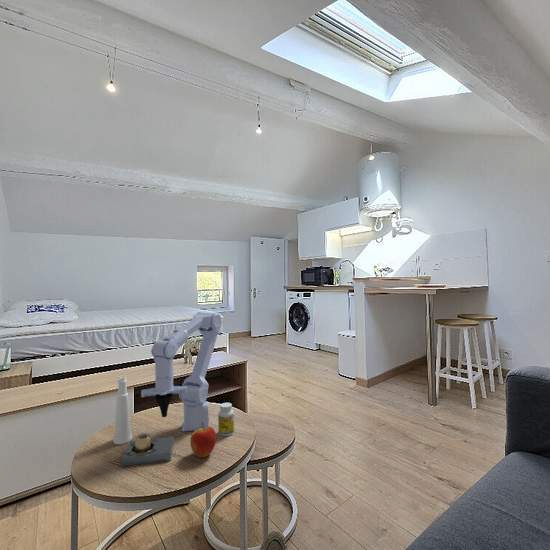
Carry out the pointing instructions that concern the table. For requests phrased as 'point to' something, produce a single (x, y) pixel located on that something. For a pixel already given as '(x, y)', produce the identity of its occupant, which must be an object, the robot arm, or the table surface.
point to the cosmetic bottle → (122, 414)
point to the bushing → (142, 443)
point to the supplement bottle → (226, 419)
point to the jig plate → (149, 452)
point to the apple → (203, 441)
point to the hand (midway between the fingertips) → (164, 415)
